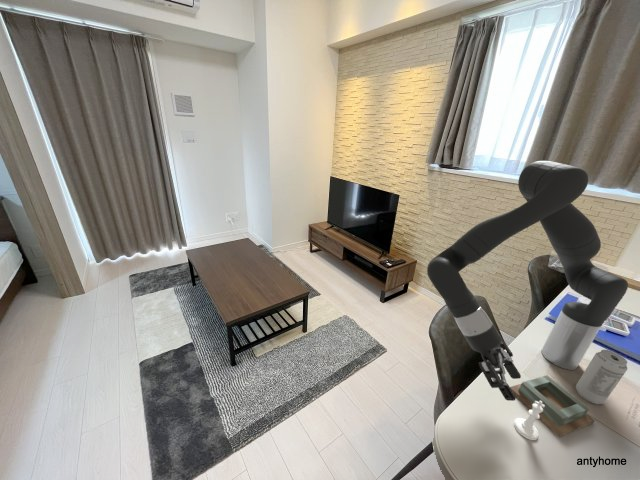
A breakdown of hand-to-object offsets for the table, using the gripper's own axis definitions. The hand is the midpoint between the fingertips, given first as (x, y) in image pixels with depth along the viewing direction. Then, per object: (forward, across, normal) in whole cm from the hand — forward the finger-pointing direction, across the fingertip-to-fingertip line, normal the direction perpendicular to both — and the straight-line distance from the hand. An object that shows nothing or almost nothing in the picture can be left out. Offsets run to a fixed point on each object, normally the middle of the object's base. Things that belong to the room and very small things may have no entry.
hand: (514, 388), depth 63 cm
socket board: (+13, +13, 0) cm, 18 cm away
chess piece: (+11, 0, +3) cm, 11 cm away
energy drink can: (+19, +25, -5) cm, 32 cm away
